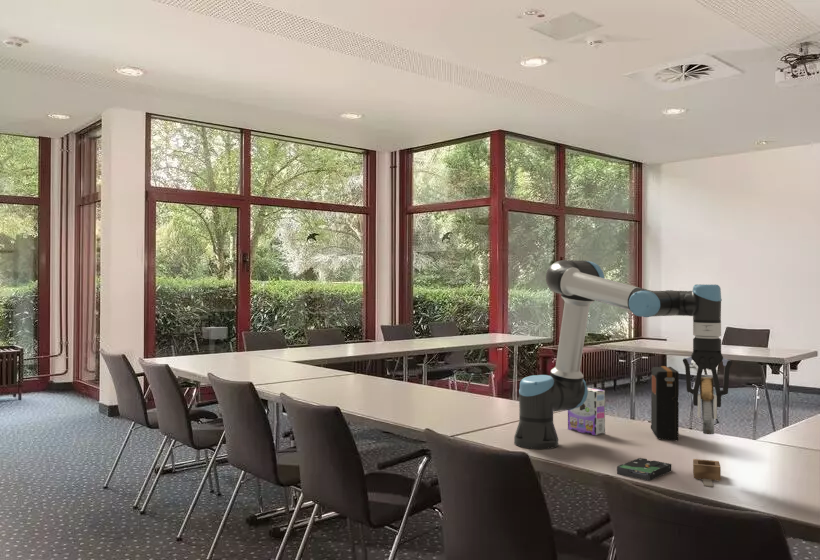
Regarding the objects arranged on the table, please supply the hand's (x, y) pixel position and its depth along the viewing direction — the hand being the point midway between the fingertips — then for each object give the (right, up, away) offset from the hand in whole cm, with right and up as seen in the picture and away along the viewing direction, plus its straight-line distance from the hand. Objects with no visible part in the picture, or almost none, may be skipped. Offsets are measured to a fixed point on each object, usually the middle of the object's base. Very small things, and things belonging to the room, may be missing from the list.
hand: (706, 417), depth 199 cm
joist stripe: (0, -17, 0) cm, 17 cm away
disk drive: (-17, -18, +4) cm, 25 cm away
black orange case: (+7, -18, +52) cm, 56 cm away
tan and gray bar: (0, -4, -1) cm, 5 cm away
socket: (0, -17, 0) cm, 17 cm away
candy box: (-20, -18, +59) cm, 65 cm away
